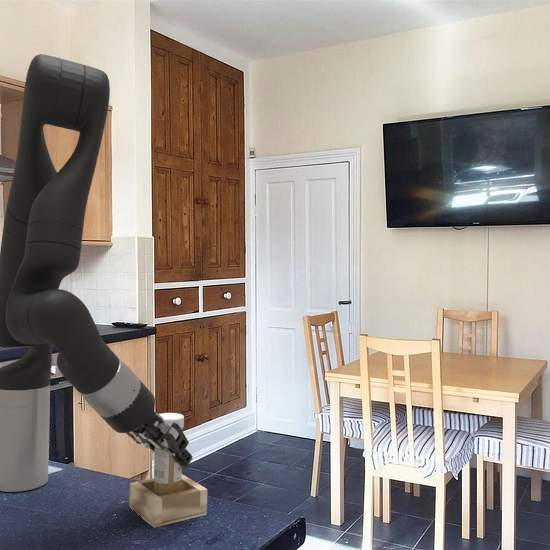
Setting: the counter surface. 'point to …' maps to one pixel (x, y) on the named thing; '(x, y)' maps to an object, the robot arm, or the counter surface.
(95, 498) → the counter surface
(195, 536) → the counter surface
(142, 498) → the socket block
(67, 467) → the counter surface
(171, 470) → the sprinkles bottle
